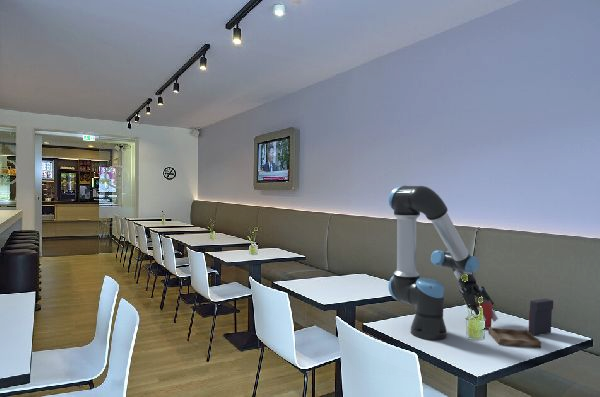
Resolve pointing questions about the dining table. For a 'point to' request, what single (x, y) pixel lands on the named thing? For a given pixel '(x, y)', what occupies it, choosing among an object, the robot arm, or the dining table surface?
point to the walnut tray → (514, 337)
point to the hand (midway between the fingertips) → (489, 320)
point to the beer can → (487, 312)
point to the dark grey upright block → (540, 316)
